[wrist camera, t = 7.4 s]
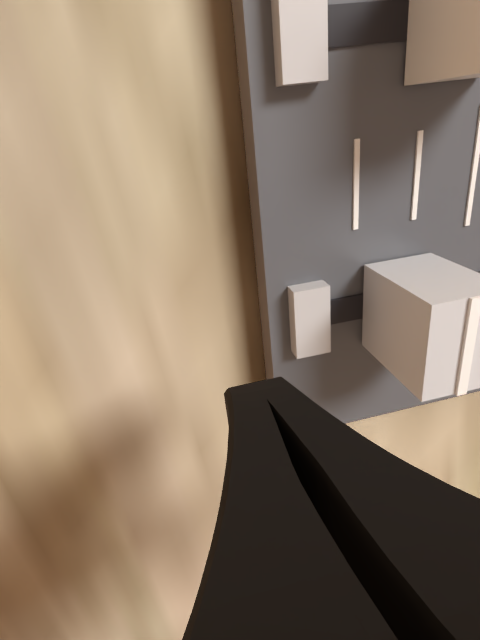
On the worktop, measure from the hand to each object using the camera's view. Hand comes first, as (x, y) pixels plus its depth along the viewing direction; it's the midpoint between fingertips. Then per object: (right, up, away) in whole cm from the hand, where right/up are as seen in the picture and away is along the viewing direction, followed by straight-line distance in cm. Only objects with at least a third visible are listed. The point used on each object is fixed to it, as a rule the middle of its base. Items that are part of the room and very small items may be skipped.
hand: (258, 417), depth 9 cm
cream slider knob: (+5, +3, +5) cm, 8 cm away
